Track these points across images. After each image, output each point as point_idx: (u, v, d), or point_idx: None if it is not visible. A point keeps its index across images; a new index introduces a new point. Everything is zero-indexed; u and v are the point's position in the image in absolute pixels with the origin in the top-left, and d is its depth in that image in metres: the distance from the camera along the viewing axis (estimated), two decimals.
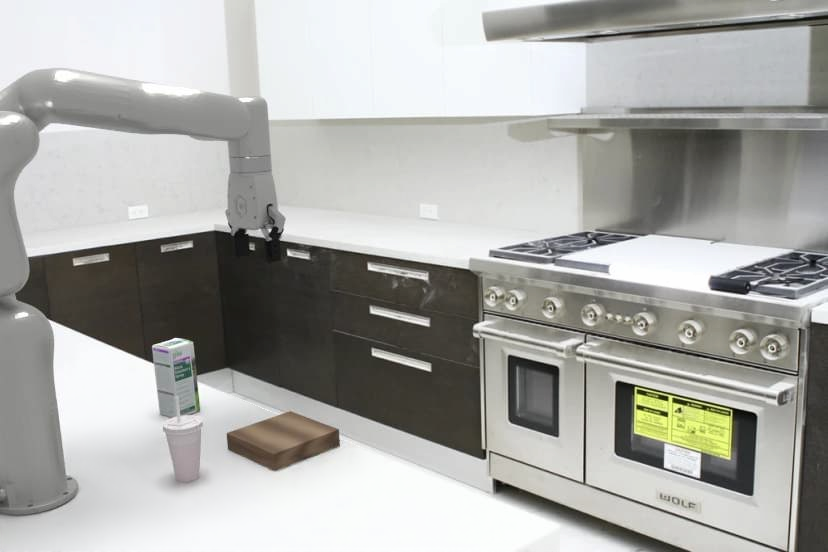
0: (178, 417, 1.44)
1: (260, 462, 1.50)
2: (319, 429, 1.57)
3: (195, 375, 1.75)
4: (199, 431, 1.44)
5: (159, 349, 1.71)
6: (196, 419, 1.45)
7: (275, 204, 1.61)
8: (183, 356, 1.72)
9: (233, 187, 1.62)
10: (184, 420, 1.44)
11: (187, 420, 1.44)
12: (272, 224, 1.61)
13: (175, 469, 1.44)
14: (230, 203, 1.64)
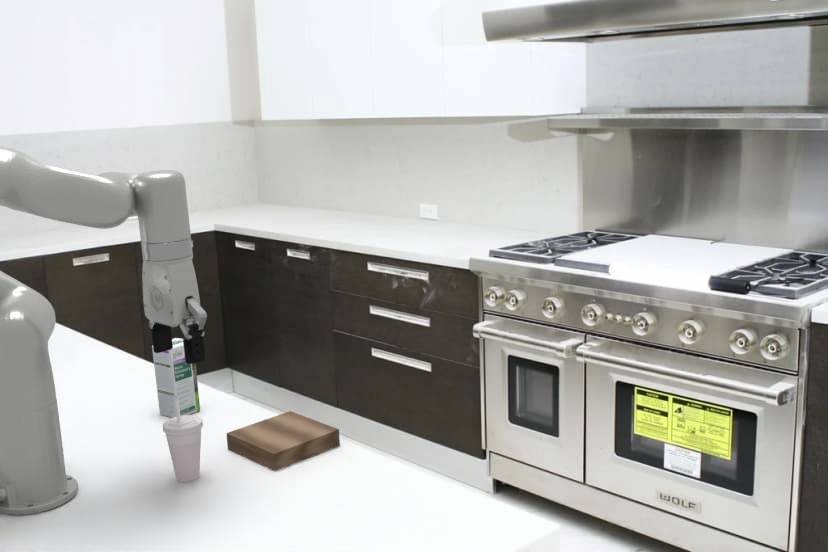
0: (178, 417, 1.44)
1: (260, 462, 1.50)
2: (319, 429, 1.57)
3: (195, 375, 1.75)
4: (199, 431, 1.44)
5: None
6: (196, 419, 1.45)
7: (196, 296, 1.37)
8: (184, 356, 1.72)
9: (147, 276, 1.39)
10: (184, 420, 1.44)
11: (187, 420, 1.44)
12: (193, 319, 1.38)
13: (175, 469, 1.44)
14: (145, 294, 1.40)
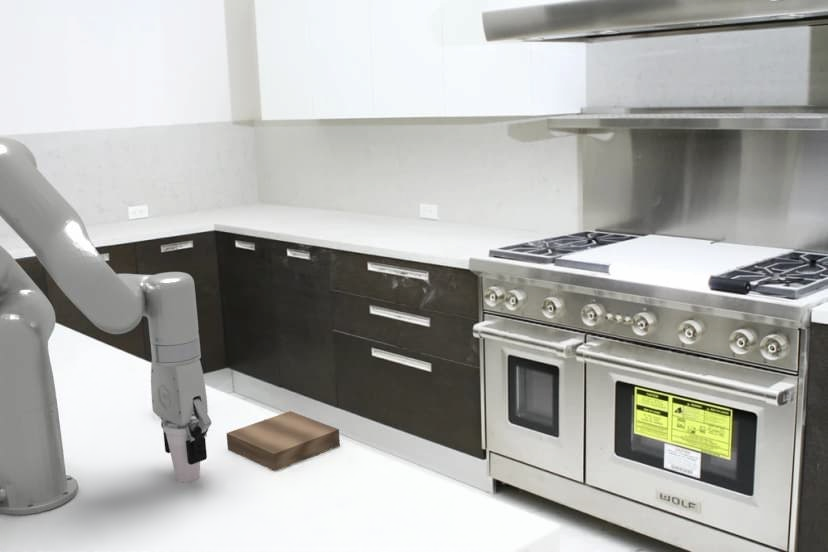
0: None
1: (260, 462, 1.50)
2: (319, 429, 1.57)
3: None
4: None
5: None
6: None
7: (203, 395, 1.41)
8: None
9: (156, 374, 1.42)
10: None
11: None
12: (198, 420, 1.42)
13: (175, 469, 1.44)
14: (153, 390, 1.44)
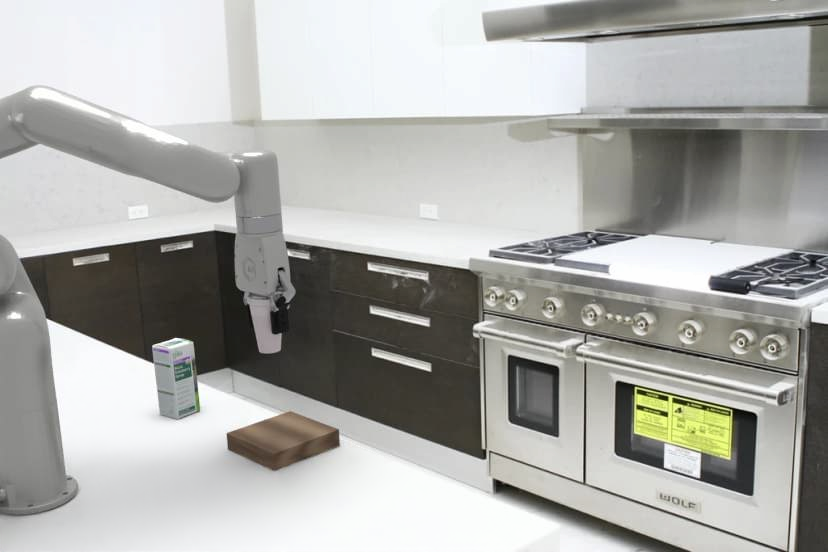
0: None
1: (260, 462, 1.50)
2: (319, 429, 1.57)
3: (195, 375, 1.75)
4: None
5: (159, 349, 1.71)
6: None
7: (287, 267, 1.47)
8: (184, 356, 1.72)
9: (241, 248, 1.48)
10: None
11: None
12: (281, 292, 1.48)
13: (259, 341, 1.51)
14: (237, 265, 1.50)
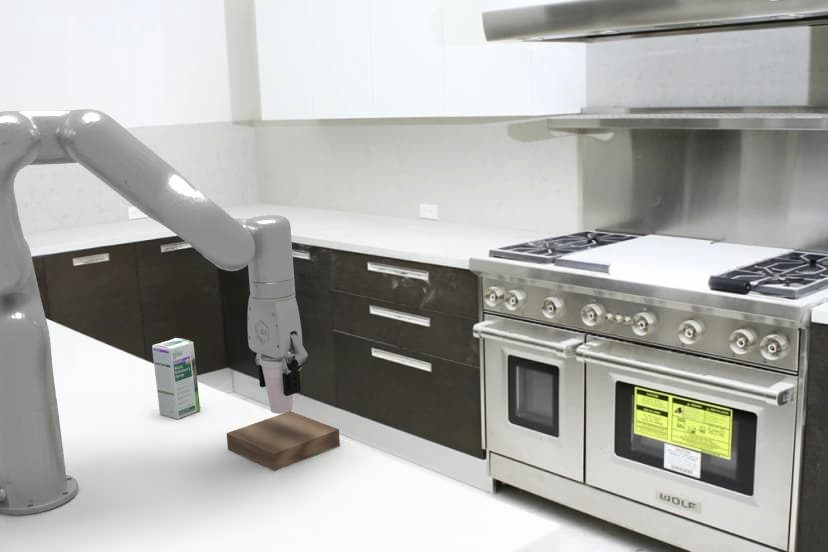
0: None
1: (260, 462, 1.50)
2: (319, 429, 1.57)
3: (195, 375, 1.75)
4: None
5: (159, 349, 1.71)
6: None
7: (299, 330, 1.50)
8: (184, 356, 1.72)
9: (254, 311, 1.52)
10: None
11: None
12: (293, 354, 1.51)
13: (271, 401, 1.54)
14: (250, 327, 1.53)
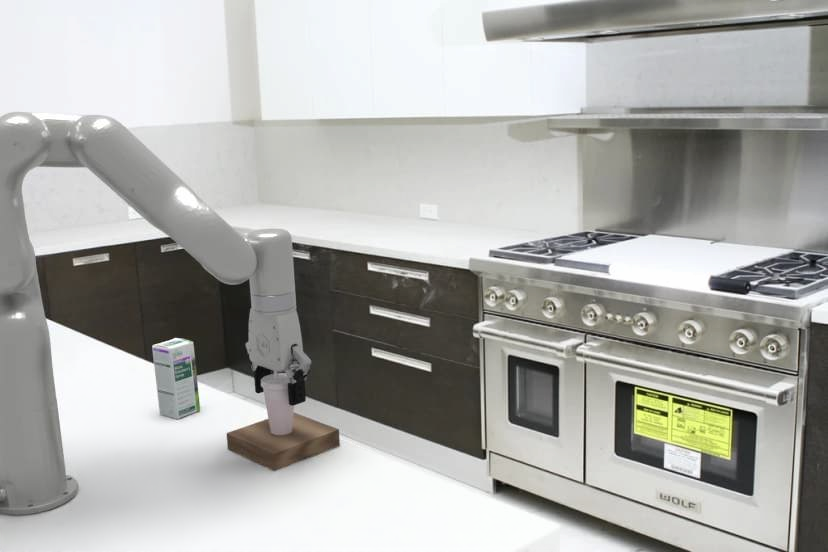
0: (275, 374, 1.54)
1: (260, 462, 1.50)
2: (319, 429, 1.57)
3: (195, 375, 1.75)
4: None
5: (159, 349, 1.71)
6: None
7: (300, 343, 1.51)
8: (184, 356, 1.72)
9: (255, 324, 1.52)
10: (280, 377, 1.55)
11: (283, 377, 1.55)
12: (296, 364, 1.51)
13: (271, 423, 1.55)
14: (251, 340, 1.54)
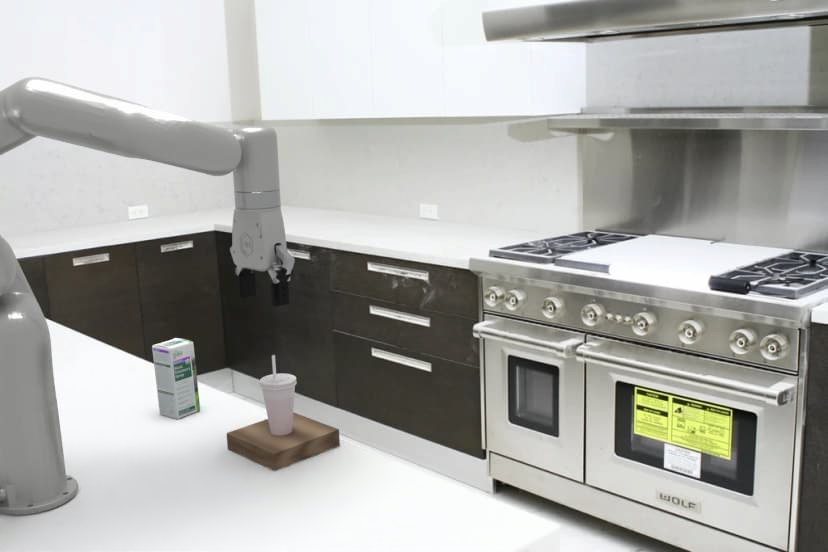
0: (274, 374, 1.54)
1: (260, 462, 1.50)
2: (319, 429, 1.57)
3: (195, 375, 1.75)
4: (293, 387, 1.54)
5: (159, 349, 1.71)
6: (290, 377, 1.56)
7: (284, 243, 1.48)
8: (183, 356, 1.72)
9: (238, 224, 1.49)
10: (279, 377, 1.55)
11: (282, 377, 1.55)
12: (280, 265, 1.48)
13: (270, 423, 1.55)
14: (235, 241, 1.51)
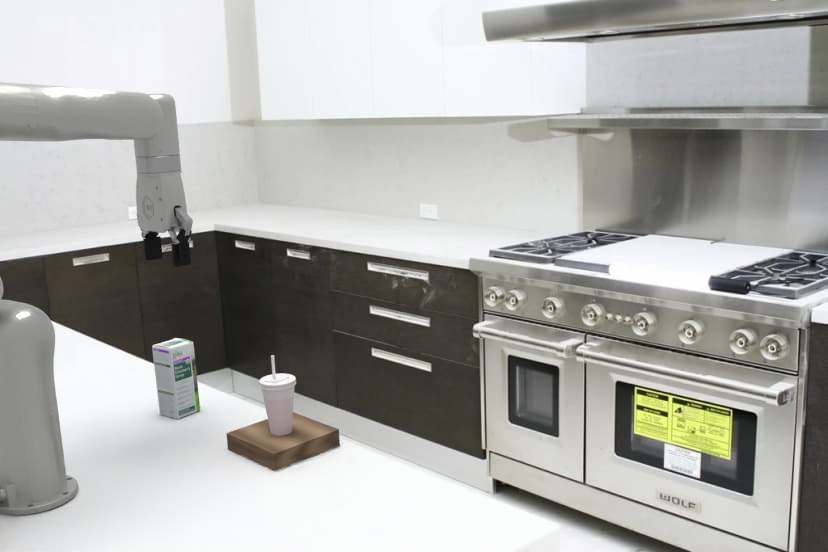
0: (273, 374, 1.54)
1: (260, 462, 1.50)
2: (319, 429, 1.57)
3: (195, 375, 1.75)
4: (293, 387, 1.54)
5: (159, 349, 1.71)
6: (289, 377, 1.56)
7: (183, 206, 1.54)
8: (184, 356, 1.72)
9: (140, 188, 1.56)
10: (279, 377, 1.55)
11: (281, 377, 1.55)
12: (181, 226, 1.55)
13: (270, 423, 1.55)
14: (138, 205, 1.57)
